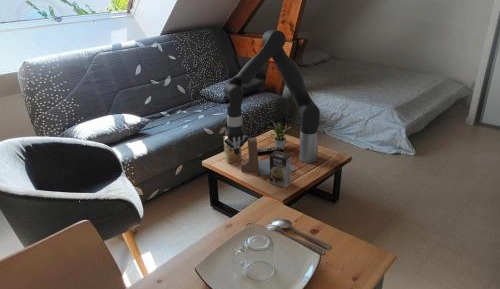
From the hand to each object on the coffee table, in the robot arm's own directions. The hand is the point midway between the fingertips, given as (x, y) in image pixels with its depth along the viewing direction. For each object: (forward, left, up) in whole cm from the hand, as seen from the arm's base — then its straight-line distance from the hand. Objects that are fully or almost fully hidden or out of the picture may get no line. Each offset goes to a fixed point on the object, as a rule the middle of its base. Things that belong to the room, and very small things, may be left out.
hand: (236, 154), depth 186 cm
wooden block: (-7, 0, -11) cm, 13 cm away
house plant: (-30, -21, -11) cm, 38 cm away
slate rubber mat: (-20, 0, -11) cm, 23 cm away
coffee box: (-18, +17, -11) cm, 27 cm away
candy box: (-1, -14, -11) cm, 18 cm away
